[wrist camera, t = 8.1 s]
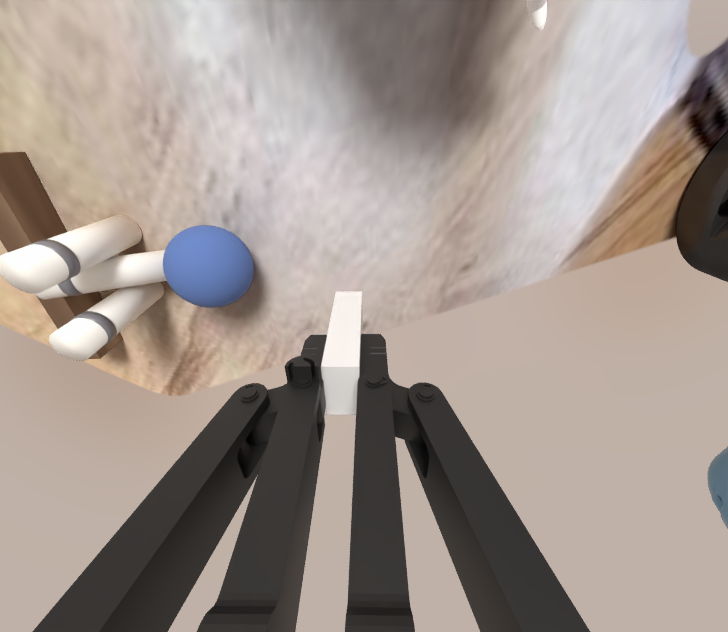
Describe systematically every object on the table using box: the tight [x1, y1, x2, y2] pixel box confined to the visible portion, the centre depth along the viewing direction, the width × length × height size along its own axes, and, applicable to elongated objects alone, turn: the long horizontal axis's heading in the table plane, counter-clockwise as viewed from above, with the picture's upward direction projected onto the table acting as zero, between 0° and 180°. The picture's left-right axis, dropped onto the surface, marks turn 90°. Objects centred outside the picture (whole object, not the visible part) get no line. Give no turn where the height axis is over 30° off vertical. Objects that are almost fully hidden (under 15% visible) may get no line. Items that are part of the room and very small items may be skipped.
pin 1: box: [0, 215, 142, 294], centre depth 20 cm, size 2×2×8 cm
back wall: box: [0, 152, 123, 359], centre depth 24 cm, size 2×16×3 cm, turn 0°
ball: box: [163, 225, 254, 307], centre depth 22 cm, size 6×6×6 cm
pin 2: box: [49, 282, 164, 361], centre depth 23 cm, size 2×2×8 cm
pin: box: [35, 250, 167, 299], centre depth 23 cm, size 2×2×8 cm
